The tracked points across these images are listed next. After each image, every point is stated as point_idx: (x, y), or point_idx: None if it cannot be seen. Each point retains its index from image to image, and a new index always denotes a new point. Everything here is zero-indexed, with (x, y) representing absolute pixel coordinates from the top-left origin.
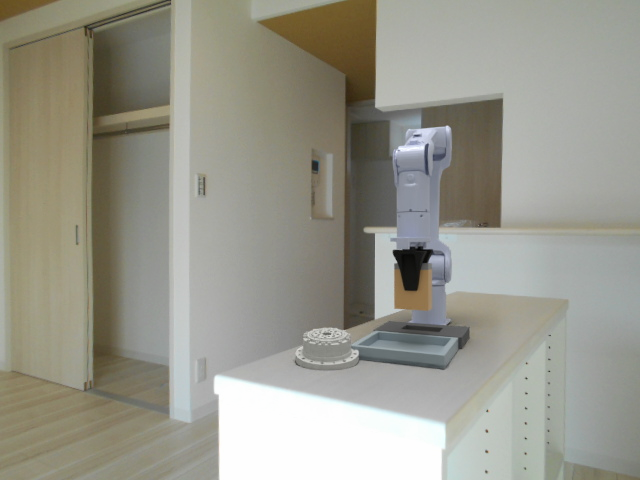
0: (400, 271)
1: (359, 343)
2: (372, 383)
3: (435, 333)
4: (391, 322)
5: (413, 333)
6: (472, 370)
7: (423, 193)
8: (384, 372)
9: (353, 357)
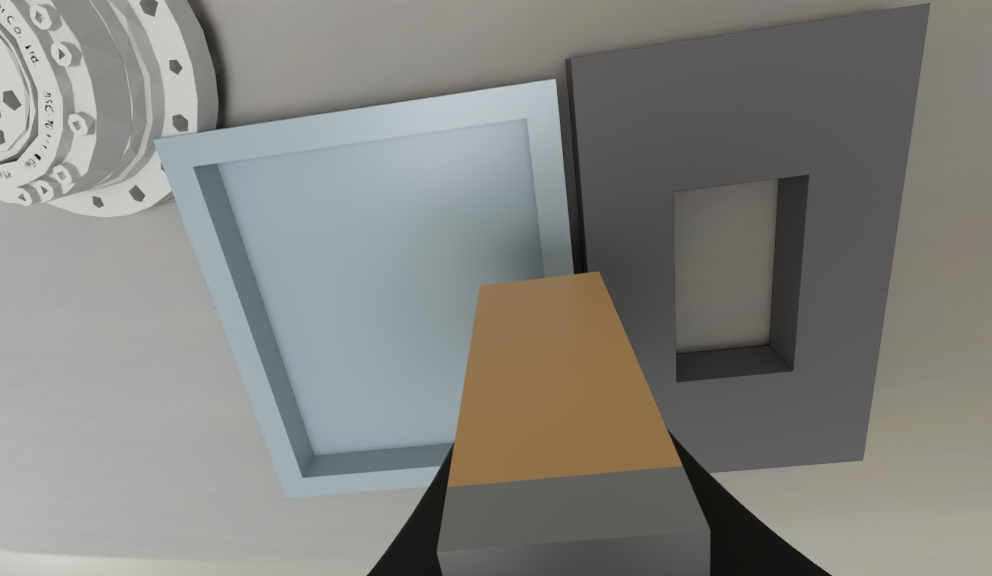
0: (382, 558)
1: (224, 161)
2: (24, 346)
3: None
4: (870, 48)
5: None
6: (348, 524)
7: None
8: (140, 332)
9: (105, 206)
